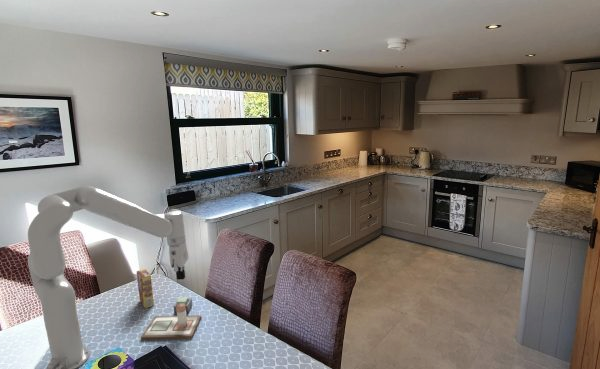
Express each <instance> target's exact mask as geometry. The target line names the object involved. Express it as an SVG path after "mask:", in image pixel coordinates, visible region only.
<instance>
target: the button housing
mask: <svg viewBox="0 0 600 369" xmlns="http://www.w3.org/2000/svg"><path fill="white" fill-rule="evenodd" d="M188 299H189V301H188V303H187V305H185V309H186V314H189V312H190V310H191V309H192V307H193V298H189V297H188ZM176 305H177V301H175V303H174V305H173V314H177V311H176Z"/></svg>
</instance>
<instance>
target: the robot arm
mask: <svg viewBox="0 0 600 369" xmlns="http://www.w3.org/2000/svg"><path fill="white" fill-rule="evenodd" d="M81 210H86V211H87V212H89V213H92V214H95V215H98V216H100V217H103V218H106V219H108V220H111V221H115V222H116V223H119V224H122V225H124V226H127V227H131V228H133V229H136V230H138V231H139V230H140V231H142V232H143V233H144V232H145V233H146V234H149V235H152V236H154V237H157V238H166V243H167V246H168V248H169V249H168V253H169V254H168V255H169V262H170V267H171V268H172V269H173V271H174V272H175V273H176V274H175V275H176V280H177V281H178V280H185V278H186V272H185V265H186V263H187V262H188V260H189V252H188V246H187V240H186V232H185V224H184V223H185V221H184V217H183V212H181V211H179V210H171V211H168V212H166V213H159V214H155V213H152V212H149V211H148V210H146V209H143V208H142V207H140V206H138V205H136V204H135V203H132V202H130V201H128V200H126V199H123V198H120V197H118V196H116V195H114V194H111V193H109V192H107V191H104V190H102V189H100V188H97V187H94V186H92V185H84V186H80V187H77V188H72V189H68V190H65V191H61V192H57V193H53V194H48V195H47V196H45V197H43V198H42V199H40V201H39V203H38V204H37V212H38V214H37V215H36V216H35V217H34V218H33V220H32V221H31V223H30V224H29V227H28V230H27V240H28V241H27V242H28V246H29V251H30V252H29V255H28V257H27V265H28V272H29V275H30V278H31V282H32V287H33V289H34V292H35V294H36V296H37V299H38V300H39V302H40V304H41V307H42V308H41V309H42V315H43V316H42V317H43V321H44V326H45V330H46V335H47V340H48V345H49V350H50V356H51V358H50V360H49V362H48V364H47V368H46V369H77V368H79V367H81V366H82V365H83V364H85V363H86V361H88V359H89V358H90V349H89V348H87V347H84V343H83V338H82V332H81V326H80V322H79V321H80V320H79V316H78V311H77V302H76V301H77V300H76V299H77V298H76V292H75V289H74V287H73V285H72V284H71V283H70V282H69V280H67V278H66V276H65V274H64V273H65V270H66V267H67V262H66V257H65V254H64V251H63V246H62V241H61V231H62V228H63V227H64V226H65V225H66V224H67V223H68V222H70V220H71V219H72V217H73V215H74V213H76V212H78V211H81Z"/></svg>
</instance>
